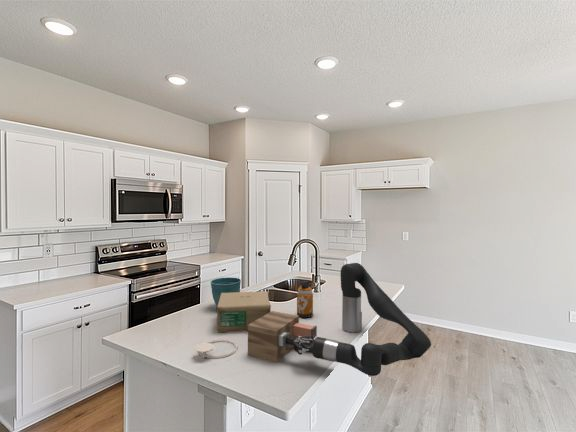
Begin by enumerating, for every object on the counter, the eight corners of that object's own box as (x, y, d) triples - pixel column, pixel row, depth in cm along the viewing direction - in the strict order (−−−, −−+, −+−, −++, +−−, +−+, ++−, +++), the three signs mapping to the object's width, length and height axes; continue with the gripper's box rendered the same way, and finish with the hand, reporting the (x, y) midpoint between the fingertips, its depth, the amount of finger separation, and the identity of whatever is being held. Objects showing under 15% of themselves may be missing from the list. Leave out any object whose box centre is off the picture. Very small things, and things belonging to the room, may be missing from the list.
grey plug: (257, 335, 137) (257, 325, 137) (289, 343, 130) (289, 332, 130) (252, 339, 133) (252, 329, 133) (284, 347, 126) (284, 336, 126)
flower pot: (205, 312, 185) (204, 283, 184) (218, 302, 202) (218, 276, 202) (233, 314, 180) (233, 285, 180) (245, 305, 198) (245, 278, 197)
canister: (294, 316, 177) (294, 281, 176) (302, 311, 187) (302, 277, 186) (308, 319, 173) (309, 283, 172) (316, 313, 183) (316, 279, 182)
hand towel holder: (245, 337, 140) (212, 356, 122) (245, 347, 140) (212, 367, 123) (217, 329, 149) (182, 345, 131) (217, 338, 149) (182, 356, 131)
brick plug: (285, 329, 145) (285, 319, 144) (316, 335, 137) (316, 325, 137) (280, 332, 141) (280, 322, 141) (312, 339, 133) (312, 329, 133)
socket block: (272, 336, 150) (272, 310, 150) (298, 342, 144) (298, 315, 143) (247, 354, 132) (247, 325, 132) (276, 362, 126) (276, 331, 125)
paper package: (216, 334, 154) (216, 305, 153) (221, 315, 179) (221, 291, 179) (271, 331, 157) (271, 303, 157) (268, 313, 183) (268, 289, 182)
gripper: (320, 367, 114) (278, 356, 122) (333, 352, 126) (293, 343, 134) (320, 346, 114) (278, 337, 122) (333, 333, 125) (293, 325, 133)
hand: (286, 340), depth 128 cm, fingers closed
